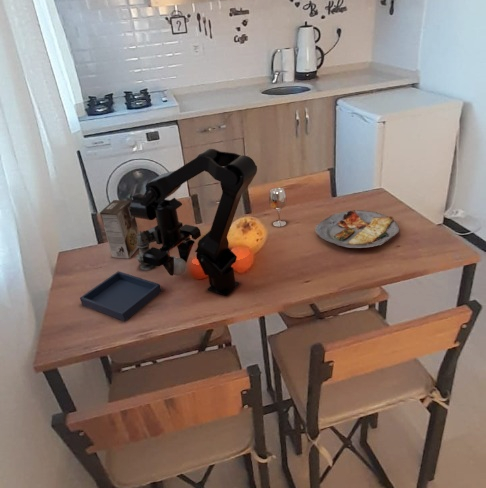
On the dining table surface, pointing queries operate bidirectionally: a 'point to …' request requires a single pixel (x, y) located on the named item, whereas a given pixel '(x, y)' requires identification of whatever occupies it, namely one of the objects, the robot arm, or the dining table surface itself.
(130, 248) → the coffee box
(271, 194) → the wineglass
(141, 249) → the grey tall tiered piece
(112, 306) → the tray
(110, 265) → the dining table surface
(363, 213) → the food plate
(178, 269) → the garlic
